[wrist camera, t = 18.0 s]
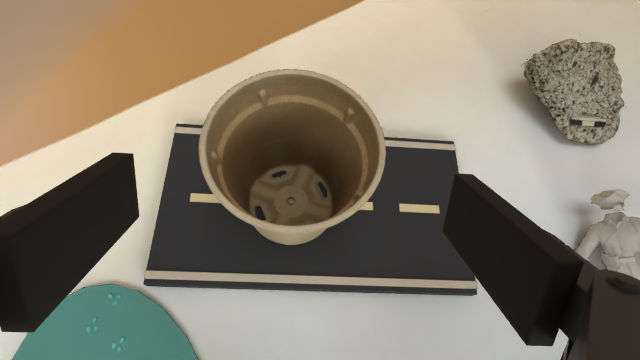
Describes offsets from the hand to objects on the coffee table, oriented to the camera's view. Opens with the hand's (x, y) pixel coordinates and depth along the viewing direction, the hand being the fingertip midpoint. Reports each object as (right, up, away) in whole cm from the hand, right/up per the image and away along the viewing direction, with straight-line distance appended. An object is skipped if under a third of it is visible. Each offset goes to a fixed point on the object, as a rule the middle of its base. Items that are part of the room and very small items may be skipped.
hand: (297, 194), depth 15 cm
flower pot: (-1, -1, +11) cm, 12 cm away
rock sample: (+24, +7, +19) cm, 31 cm away
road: (+1, -1, +12) cm, 12 cm away
